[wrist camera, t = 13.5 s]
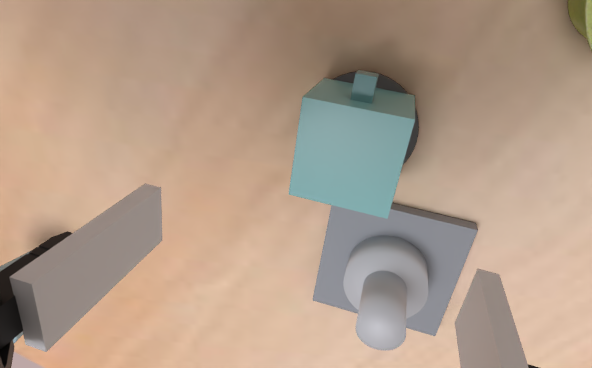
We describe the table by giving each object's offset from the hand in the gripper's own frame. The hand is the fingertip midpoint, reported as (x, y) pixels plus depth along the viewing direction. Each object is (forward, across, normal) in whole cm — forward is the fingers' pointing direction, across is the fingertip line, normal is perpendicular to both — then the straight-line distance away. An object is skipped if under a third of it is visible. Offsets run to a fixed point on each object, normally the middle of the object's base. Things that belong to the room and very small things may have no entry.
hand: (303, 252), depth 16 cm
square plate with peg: (+19, +5, -12) cm, 23 cm away
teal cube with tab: (+18, 0, 0) cm, 18 cm away
